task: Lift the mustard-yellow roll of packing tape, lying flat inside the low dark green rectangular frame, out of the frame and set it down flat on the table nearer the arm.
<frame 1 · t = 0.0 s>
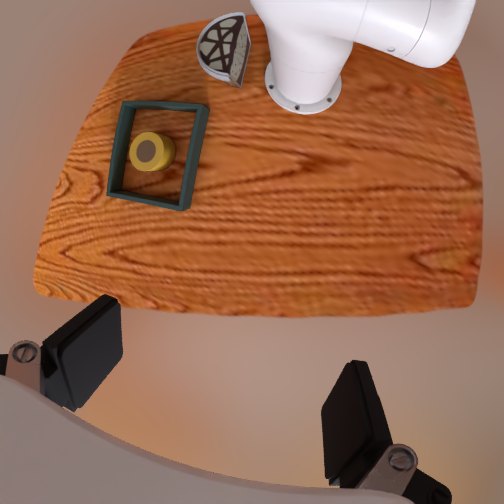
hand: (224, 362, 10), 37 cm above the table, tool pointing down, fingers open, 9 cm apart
tape roll: (152, 151, 42), in the dark green rectangular frame
dark green rectangular frame: (159, 152, 44), on the table
food container: (229, 64, 38), on the table
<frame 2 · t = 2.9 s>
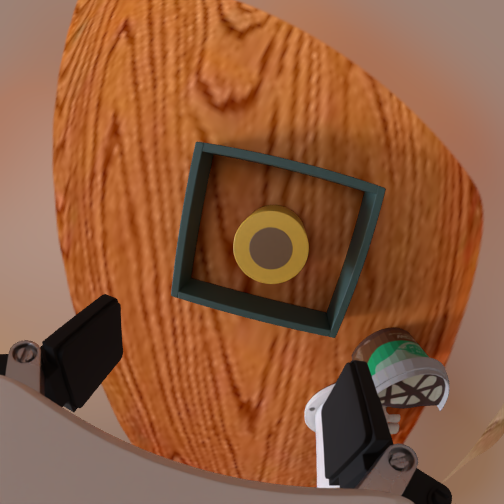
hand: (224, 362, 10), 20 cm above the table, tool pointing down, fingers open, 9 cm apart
tape roll: (272, 242, 26), in the dark green rectangular frame
dark green rectangular frame: (273, 236, 28), on the table
food container: (391, 339, 30), on the table
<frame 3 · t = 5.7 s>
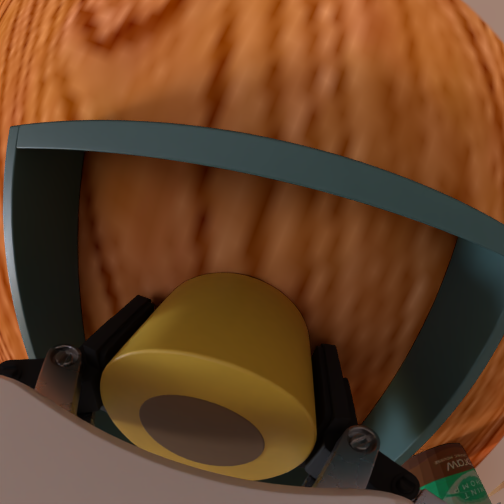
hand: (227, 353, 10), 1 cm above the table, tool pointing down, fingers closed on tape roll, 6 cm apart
tape roll: (217, 383, 9), in the dark green rectangular frame, touching gripper
dark green rectangular frame: (231, 344, 11), on the table
food container: (433, 455, 13), on the table
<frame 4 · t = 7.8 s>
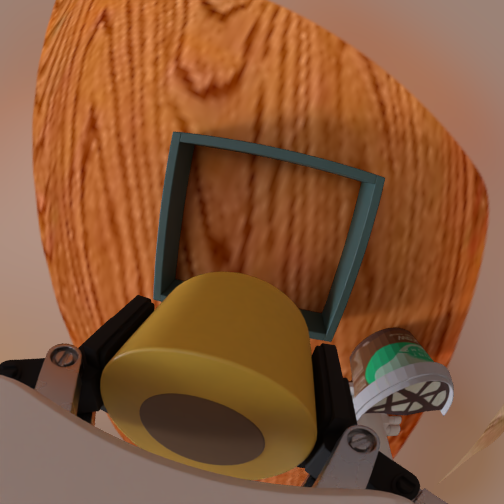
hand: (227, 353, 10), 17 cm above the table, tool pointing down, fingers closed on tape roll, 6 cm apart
tape roll: (217, 382, 9), point 18 cm above the table, touching gripper
dark green rectangular frame: (262, 232, 26), on the table
food container: (392, 340, 28), on the table
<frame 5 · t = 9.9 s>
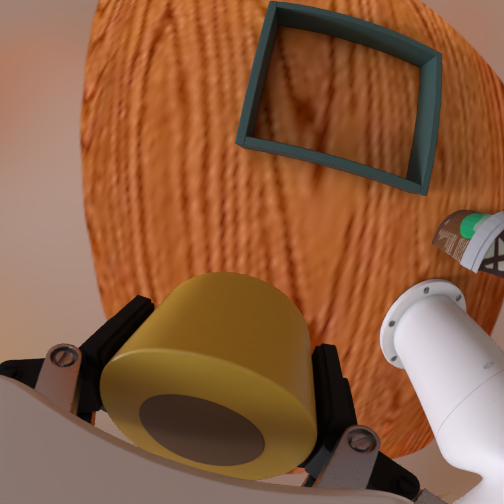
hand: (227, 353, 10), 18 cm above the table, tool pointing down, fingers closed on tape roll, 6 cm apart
tape roll: (217, 382, 9), point 20 cm above the table, touching gripper
dark green rectangular frame: (345, 95, 22), on the table
food container: (465, 226, 24), on the table
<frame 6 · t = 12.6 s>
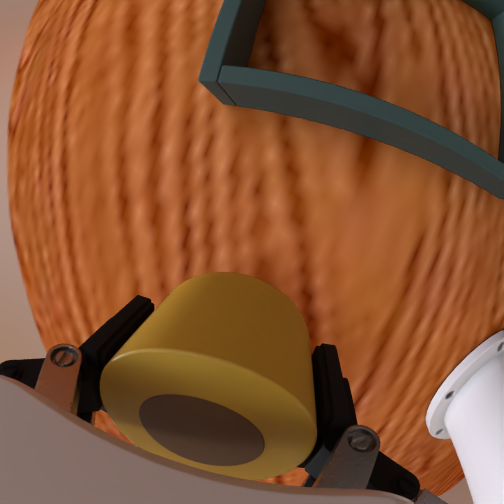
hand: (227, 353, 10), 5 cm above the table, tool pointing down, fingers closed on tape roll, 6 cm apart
tape roll: (217, 382, 9), point 7 cm above the table, touching gripper
dark green rectangular frame: (402, 30, 9), on the table
when the fingers open (1 cm above the table, at t = 14.2 s): tape roll stays where it is, on the table.
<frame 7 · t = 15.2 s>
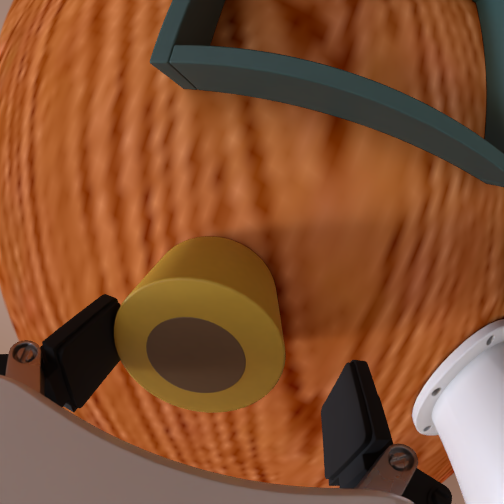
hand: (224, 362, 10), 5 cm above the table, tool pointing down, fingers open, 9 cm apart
tape roll: (204, 323, 12), on the table
dark green rectangular frame: (378, 8, 9), on the table
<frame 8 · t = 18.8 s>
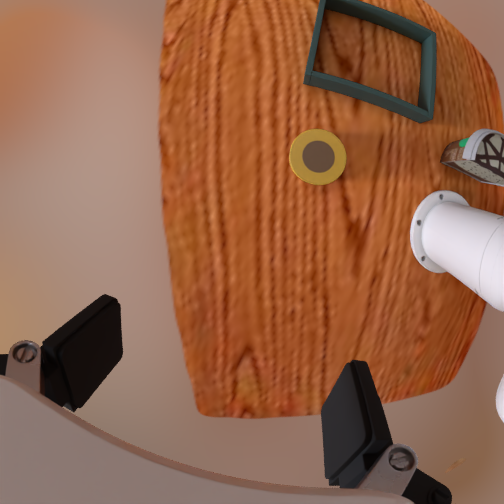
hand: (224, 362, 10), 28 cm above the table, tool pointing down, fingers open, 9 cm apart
tape roll: (316, 157, 31), on the table
dark green rectangular frame: (371, 57, 28), on the table
food container: (463, 154, 30), on the table
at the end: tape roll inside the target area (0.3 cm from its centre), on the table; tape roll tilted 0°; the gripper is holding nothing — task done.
